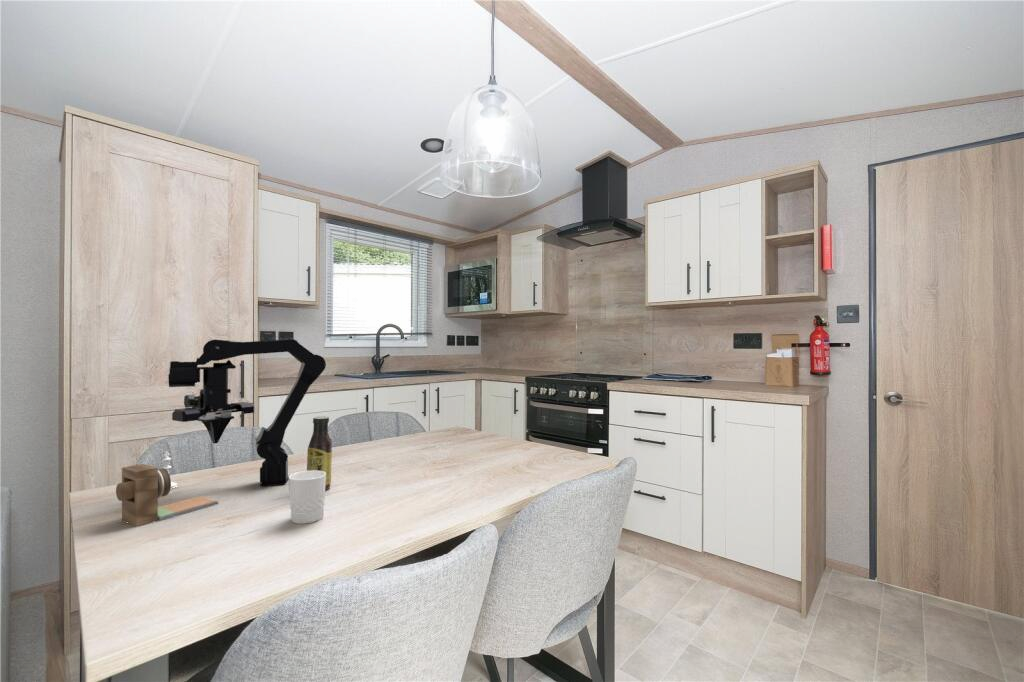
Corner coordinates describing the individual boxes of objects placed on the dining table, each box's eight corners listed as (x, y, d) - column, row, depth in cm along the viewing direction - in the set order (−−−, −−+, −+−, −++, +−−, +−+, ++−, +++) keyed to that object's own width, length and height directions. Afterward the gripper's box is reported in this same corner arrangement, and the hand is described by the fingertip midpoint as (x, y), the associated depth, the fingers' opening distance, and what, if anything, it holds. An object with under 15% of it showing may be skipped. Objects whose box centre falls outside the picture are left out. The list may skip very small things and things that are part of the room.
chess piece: (181, 485, 132) (182, 449, 132) (167, 490, 127) (167, 454, 127) (165, 484, 133) (165, 449, 133) (150, 490, 128) (150, 453, 128)
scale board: (200, 498, 121) (200, 495, 121) (218, 503, 117) (218, 500, 117) (142, 514, 110) (142, 511, 110) (159, 520, 106) (159, 517, 106)
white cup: (289, 527, 102) (289, 481, 102) (287, 515, 109) (287, 472, 109) (327, 521, 106) (327, 477, 106) (324, 510, 113) (324, 468, 113)
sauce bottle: (301, 491, 127) (301, 418, 127) (318, 484, 133) (318, 414, 133) (319, 494, 125) (320, 419, 125) (336, 487, 130) (337, 416, 130)
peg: (156, 493, 112) (157, 466, 112) (171, 498, 109) (171, 470, 109) (113, 504, 104) (113, 475, 104) (126, 509, 101) (126, 479, 101)
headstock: (142, 515, 110) (142, 463, 110) (157, 520, 106) (157, 467, 106) (121, 520, 106) (121, 467, 106) (136, 526, 103) (136, 471, 103)
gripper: (232, 381, 139) (232, 434, 139) (161, 387, 123) (161, 446, 123) (255, 383, 134) (255, 438, 134) (183, 389, 118) (183, 451, 118)
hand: (215, 443), depth 127 cm, fingers closed
